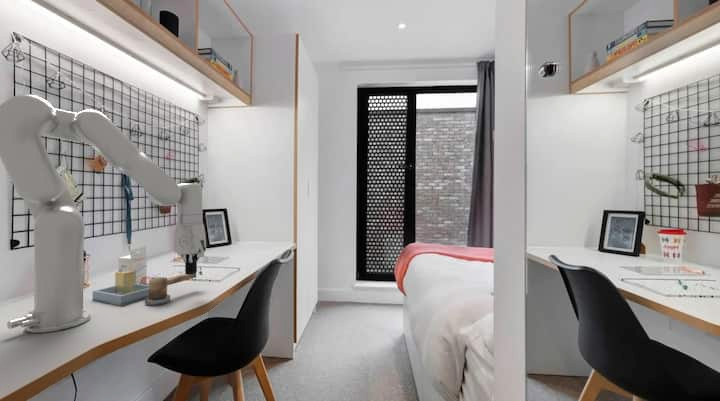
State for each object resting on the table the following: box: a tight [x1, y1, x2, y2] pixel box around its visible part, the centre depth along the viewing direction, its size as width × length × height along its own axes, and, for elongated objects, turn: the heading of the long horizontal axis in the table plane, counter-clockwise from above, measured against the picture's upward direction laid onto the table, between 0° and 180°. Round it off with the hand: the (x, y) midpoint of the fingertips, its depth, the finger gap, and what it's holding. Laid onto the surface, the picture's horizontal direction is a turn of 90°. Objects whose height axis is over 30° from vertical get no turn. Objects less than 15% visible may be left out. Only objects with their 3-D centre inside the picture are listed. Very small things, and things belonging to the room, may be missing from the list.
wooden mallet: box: [148, 272, 197, 299], centre depth 108 cm, size 17×5×7 cm, turn 160°
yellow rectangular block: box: [114, 270, 136, 295], centre depth 106 cm, size 4×4×8 cm
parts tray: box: [92, 283, 149, 307], centre depth 106 cm, size 12×14×3 cm
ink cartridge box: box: [117, 246, 148, 285], centre depth 119 cm, size 9×5×15 cm, turn 179°
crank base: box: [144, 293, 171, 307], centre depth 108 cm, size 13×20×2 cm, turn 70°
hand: (191, 273), depth 106 cm, fingers closed
